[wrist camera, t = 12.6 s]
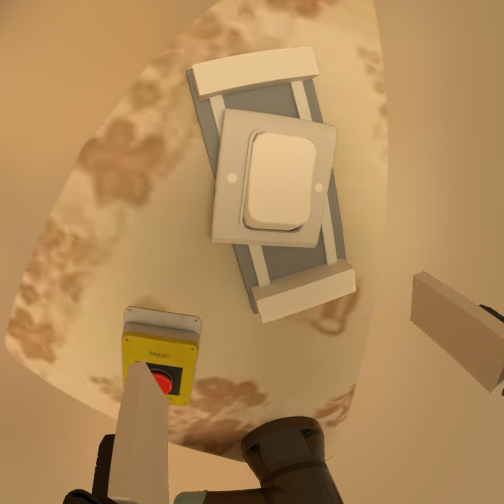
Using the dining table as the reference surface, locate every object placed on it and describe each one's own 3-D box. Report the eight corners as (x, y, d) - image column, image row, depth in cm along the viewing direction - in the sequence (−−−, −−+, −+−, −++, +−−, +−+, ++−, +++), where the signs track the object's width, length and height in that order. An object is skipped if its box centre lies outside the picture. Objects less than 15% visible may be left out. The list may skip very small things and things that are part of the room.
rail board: (345, 279, 35) (359, 293, 31) (252, 310, 34) (259, 328, 30) (301, 52, 24) (314, 41, 21) (186, 72, 24) (184, 61, 20)
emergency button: (122, 411, 31) (117, 323, 27) (126, 388, 36) (125, 302, 31) (189, 420, 34) (204, 336, 29) (188, 397, 38) (202, 314, 33)
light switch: (212, 255, 25) (227, 104, 20) (210, 238, 29) (223, 109, 24) (325, 260, 28) (351, 127, 23) (310, 244, 31) (331, 126, 26)
